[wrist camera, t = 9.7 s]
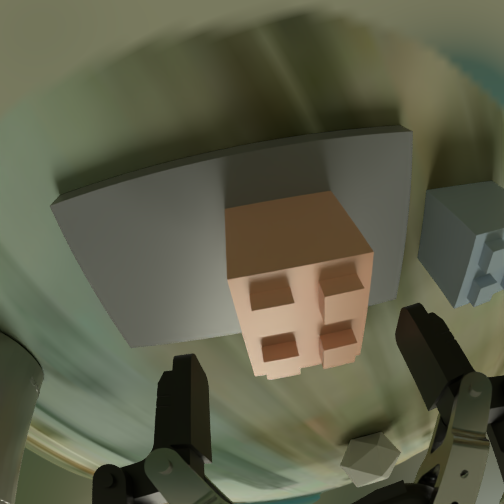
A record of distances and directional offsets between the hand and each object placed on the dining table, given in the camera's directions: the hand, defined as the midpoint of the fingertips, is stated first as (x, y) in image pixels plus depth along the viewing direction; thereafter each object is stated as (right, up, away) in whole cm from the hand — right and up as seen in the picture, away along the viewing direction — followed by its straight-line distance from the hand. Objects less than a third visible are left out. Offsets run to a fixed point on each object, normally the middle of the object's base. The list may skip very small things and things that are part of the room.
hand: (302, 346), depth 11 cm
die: (+15, -25, +28) cm, 41 cm away
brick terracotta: (0, +4, +5) cm, 6 cm away
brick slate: (+12, +6, +6) cm, 14 cm away
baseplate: (-2, +4, +6) cm, 7 cm away
